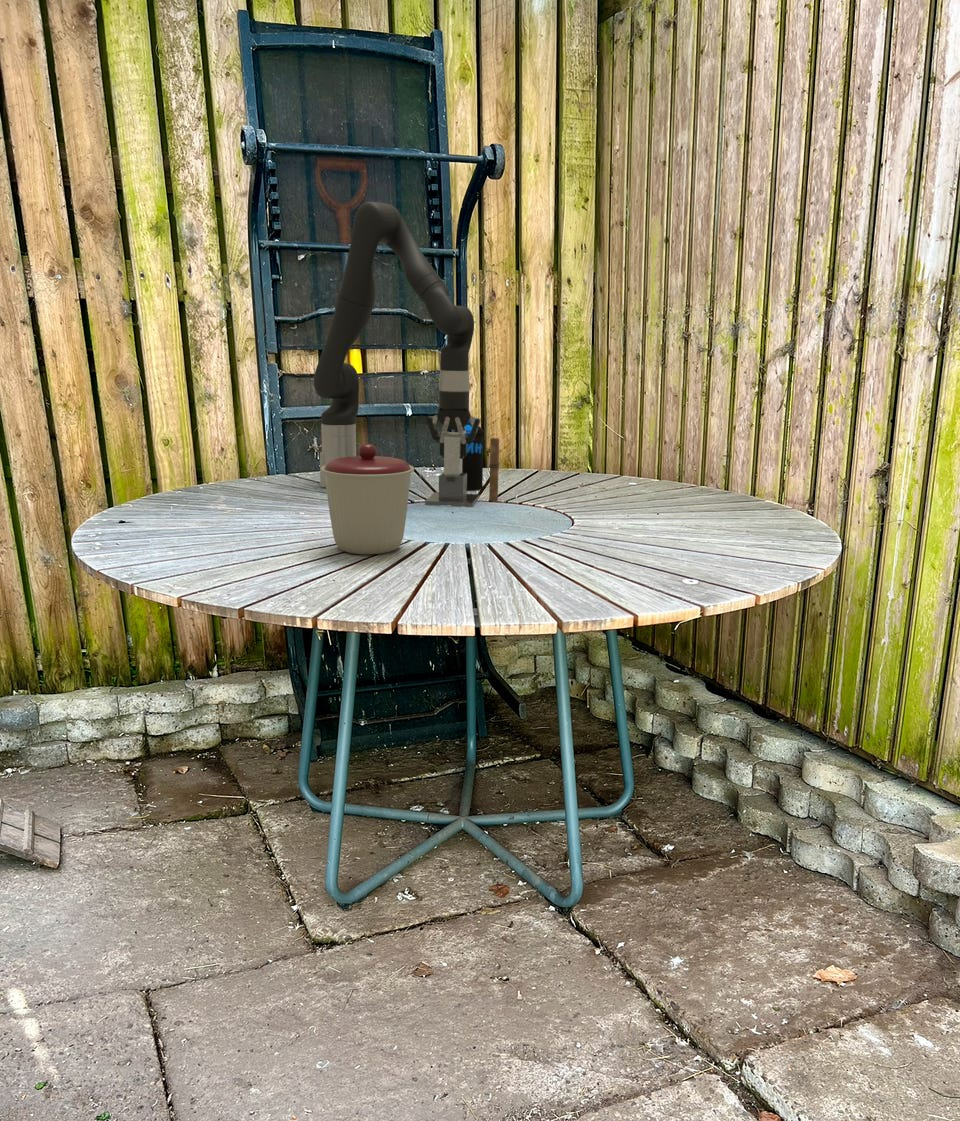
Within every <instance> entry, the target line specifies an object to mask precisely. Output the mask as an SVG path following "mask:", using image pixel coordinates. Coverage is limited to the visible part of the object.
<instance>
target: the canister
mask: <svg viewBox="0 0 960 1121" xmlns="http://www.w3.org/2000/svg"><path fill="white" fill-rule="evenodd" d="M357 452H358V455H356V456H352V457H343V458H338V459H334V460H332V461H329V462H328V463H327V464H326V465H324V466H322V467H321V471H322V472H323V473H324V474H325V482H326V487H325V489H326V496H327V497H326V498H327V504H328V512H329V518H330V524H331V531H332V536H333V539H334V542H335V544H336V546H337V547H338V548H339V549H340V550H341V551H343V552H346V553H350V554H354V555H368V556H369V555H380V554H382V555H383V554H386V553H390V552H392V551H395V550H397V549H398V548H399V547H400V546H401V544H402V543H403V539H404V534H405V528H406V527H405V526H406V520H407V513H408V512H407V511H408V504H409V503H408V502H409V496H410V495H409V494H410V493H409V492H410V484H411V483H410V482H411V476H412V473H413V472H414V471H415V468H414V466H413V465H411V464H409V463H408V462H407V461H405V460H403V459H400V458H395V457H389V456H380V455H377V448H376V446H375V445H374V444H372V443H363V444H361V445H360V446H359V447H358V451H357Z"/></svg>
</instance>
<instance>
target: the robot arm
mask: <svg viewBox="0 0 960 1121" xmlns="http://www.w3.org/2000/svg"><path fill="white" fill-rule="evenodd" d="M352 225H353V226H352V231H351V235H350V245H349V249H348V254H347V260H346V265H345V269H344V271H343V272H344V273H343V277H342V281H341V285H340V289H339V292H338V295H337V299H336V303H335V308H334V310H333V316H332V320H331V323H330V327H329V331H328V334H327V336H326V341H325V343H324V346H323V348H322V351H321V354H320V357H319V360H318V363H317V365H316V368H315V370H314V376H313V387H314V390H315V392H316V395H318V396H319V398H321V399H329V400H330V399H332V402H331V405H330V406H329V407H328V408H327V409H326V410H325V411H323V412H322V413H321V415H320V416H321V417H320V421H321V422H320V424H321V426H320V428H321V451H319V472H320V474H319V476H320V479H319V480H320V481H319V483H320V487H321V488H326V482H325V474H324V473H323V472H322V471H321V467H322V466H324V465H326V464H327V463H328V462H329V461H332V460H334V459H338V458H343V457H352V456H357V431H356V430H357V429H356V426H357V425H356V423H357V422H356V419H357V416H358V413H359V403H360V402H359V399H360V380H359V375H358V372H357V370H356V367H354V365H352V364H351V363H347V362H345V360H346V357H347V354H348V353H349V351H350V349H351V348H352V346H353V344H354V343H356V341H357V339H358V338H360V336H361V334H363V332H364V331H365V329H366V327H367V326H368V324H369V322H370V319H371V316H372V313H373V309H374V306H375V302H376V284H375V279H374V272H373V270H374V269H373V267H374V260H375V257H376V256H375V255H376V253H377V249H378V246H379V244H380V243H381V244H382V243H384V244H385V245H386V246H388V248H390V250H392V251H393V253H394V254H395V255H396V256H397V258H398V259H399V262H400V263H401V266H402V268H403V272H404V275H405V277H406V281H407V283H408V284H409V287H411V289H412V290H413V291H414V293H415V294H416V295H417V297H418V298H419V300H421V302H422V303H423V304H424V305H425V308H426V310H427V314H428V315H429V317H430V319H431V321H432V324H434V326H435V327H436V329H437V330H438V331H440V333H441V334H444V335H446V336H448V337H447V340H446V345H445V346H443V347H442V348H441V350H440V353H439V354H440V357H439V359H440V360H439V361H440V364H439V365H440V366H439V376H438V377H439V378H438V380H439V381H438V411H437V413H436V415H433V416H432V415H430V416H428V417H426V422H427V426H428V428H429V430H430V435H431V437H432V438H431V439H432V440H433V441H436V442H438V443H439V455H440V457H441V456H442V459H444V437H443V434H447V433H448V432H450V431H452V430H453V431H455V430H456V431H458V432H459V434H462V437H461V450H460V458H461V459H464V457H465V456H466V455H467V443H468V442H472V441H473V440H474V439H475V436H476V433H477V430H478V428H479V426H480V424H481V422H482V420H481V418H479V417H478V418H477V417H475V416H473V417H472V416H471V415H472V414H471V412H470V388H471V384H470V372H469V370H470V367H469V366H470V364H469V363H470V362H469V360H470V359H469V358H470V357H469V356H470V355H469V353H470V349H471V346H472V343H473V342H472V341H473V336H474V331H475V319H474V315H473V312H472V311H471V310H470V308H468V307H466V306H463V305H455V304H454V303H453V302H452V300H451V299H450V298H449V296H450V290H449V288H448V285H446V283H445V282H444V280H443V279H442V278H441V277H440V276H439V274H438V272H437V271H436V270H435V268H433V266H432V264H430V262H429V260H427V258H426V257H425V255H424V254H423V252H422V250H421V248H420V247H419V245H418V244H417V241H416V240H415V238H414V237H413V234H412V233H411V231H410V230H409V228H408V225H407V223H406V222H405V220H404V218H403V216H402V215H401V212H400V211H399V210H398V209H397V208H396V207H395V206H394V205H392V204H390V203H385V202H378V201H366V202H364V203H362V204H361V205H360V206H359V207H358V209H357V210H356V213H355V216H354V219H353V223H352ZM469 420H470V421H471V425H472V426H473V427H472V430H471V433H470V436H469V437H467V436H466V431H465V425H466V424H467V423H468V421H469ZM438 421H439V422H440V424H441V426H442V429H441V431H440V432H441V434H440V435H439V432H438V429H437V426H436V424H437V423H438Z"/></svg>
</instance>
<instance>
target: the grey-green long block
mask: <svg viewBox="0 0 960 1121" xmlns="http://www.w3.org/2000/svg"><path fill="white" fill-rule="evenodd" d="M443 437H444V458H443V472H444V476H462V459H461V458H460V450H461V437H462V434H459V432H454V431H451V432H450V431H449V432H448V433H447V434H443Z"/></svg>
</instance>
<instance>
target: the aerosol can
mask: <svg viewBox="0 0 960 1121" xmlns="http://www.w3.org/2000/svg"><path fill="white" fill-rule="evenodd" d="M471 416H472V417H474V415H472V414H471ZM472 427H473V426H472V425H471V421H470V420H469V421H468V423H467V424H466V425H465V431H466V436H467V437H469V436H470V433H471V430H472ZM453 432H458V431H456V430H453ZM484 433H485V430H483V428H482V427H481V426H480V425H479V428H478V430H477V433H476V436H475V439H474V440H473V441H472V442H468V443H467V455H466V456H465V457H464V459H462V473H467V492H468V491H469V492H470V491H471V492H472V491H473V492H474V491H481V490H483V489H484V486H483V483H484V482H483V478H484V474H483V473H484V471H483V469H484Z"/></svg>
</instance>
